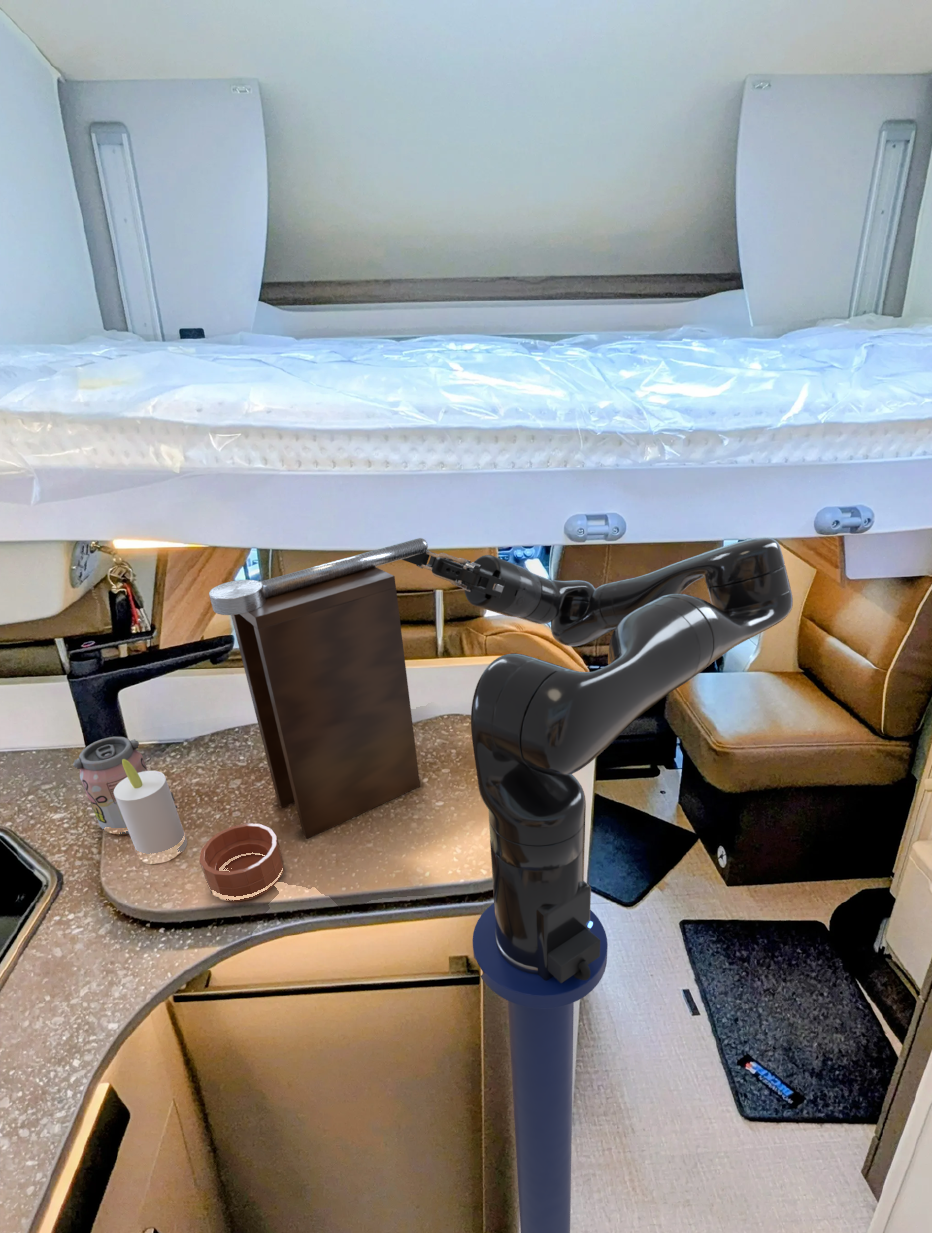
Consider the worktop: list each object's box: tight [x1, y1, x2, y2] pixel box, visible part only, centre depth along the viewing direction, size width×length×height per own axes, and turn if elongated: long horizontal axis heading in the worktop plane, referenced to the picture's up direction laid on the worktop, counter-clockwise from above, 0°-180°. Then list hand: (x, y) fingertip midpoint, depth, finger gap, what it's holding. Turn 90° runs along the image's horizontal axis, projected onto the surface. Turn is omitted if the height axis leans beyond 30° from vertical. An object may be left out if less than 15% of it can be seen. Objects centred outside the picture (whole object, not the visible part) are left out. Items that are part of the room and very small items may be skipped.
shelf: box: [230, 566, 421, 840], centre depth 94 cm, size 18×10×32 cm, turn 124°
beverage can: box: [72, 736, 149, 835], centre depth 98 cm, size 9×8×12 cm
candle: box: [113, 759, 188, 854], centre depth 91 cm, size 6×6×15 cm
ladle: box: [208, 537, 429, 616], centre depth 87 cm, size 29×6×2 cm, turn 124°
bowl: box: [198, 822, 285, 903], centre depth 87 cm, size 9×9×5 cm
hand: (417, 557), depth 93 cm, fingers open, 8 cm apart
